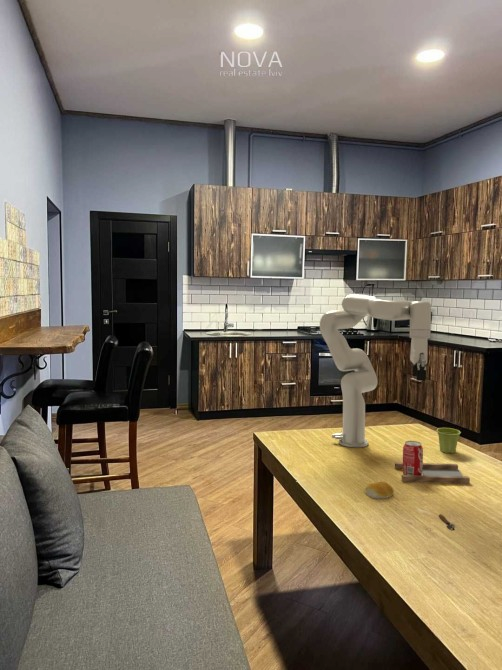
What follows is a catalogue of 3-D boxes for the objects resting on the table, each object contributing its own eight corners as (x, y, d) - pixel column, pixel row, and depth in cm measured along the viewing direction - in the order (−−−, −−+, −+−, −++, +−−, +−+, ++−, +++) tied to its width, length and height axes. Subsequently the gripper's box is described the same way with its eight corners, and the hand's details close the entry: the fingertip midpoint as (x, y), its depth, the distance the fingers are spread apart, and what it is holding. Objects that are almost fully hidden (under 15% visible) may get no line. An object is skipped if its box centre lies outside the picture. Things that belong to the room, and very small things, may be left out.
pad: (427, 480, 182) (427, 480, 182) (419, 469, 193) (419, 469, 193) (467, 481, 181) (467, 480, 181) (457, 470, 192) (458, 469, 192)
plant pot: (463, 450, 214) (464, 430, 213) (454, 456, 207) (455, 435, 206) (441, 446, 221) (442, 426, 220) (432, 451, 214) (432, 431, 213)
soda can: (419, 471, 191) (420, 440, 190) (424, 478, 184) (425, 446, 183) (400, 471, 192) (401, 439, 190) (404, 478, 185) (405, 445, 183)
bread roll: (397, 495, 170) (398, 483, 170) (379, 501, 166) (379, 489, 165) (379, 487, 177) (379, 476, 177) (360, 493, 172) (360, 481, 172)
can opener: (438, 517, 154) (438, 513, 154) (446, 517, 154) (446, 513, 154) (449, 532, 145) (449, 528, 145) (457, 532, 145) (457, 528, 145)
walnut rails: (402, 482, 181) (402, 476, 181) (394, 467, 195) (394, 462, 195) (469, 483, 179) (469, 478, 179) (456, 469, 193) (456, 463, 193)
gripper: (406, 331, 204) (405, 374, 206) (413, 336, 187) (412, 382, 189) (425, 331, 203) (425, 374, 204) (434, 336, 186) (433, 382, 187)
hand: (419, 378), depth 197 cm, fingers open, 9 cm apart
